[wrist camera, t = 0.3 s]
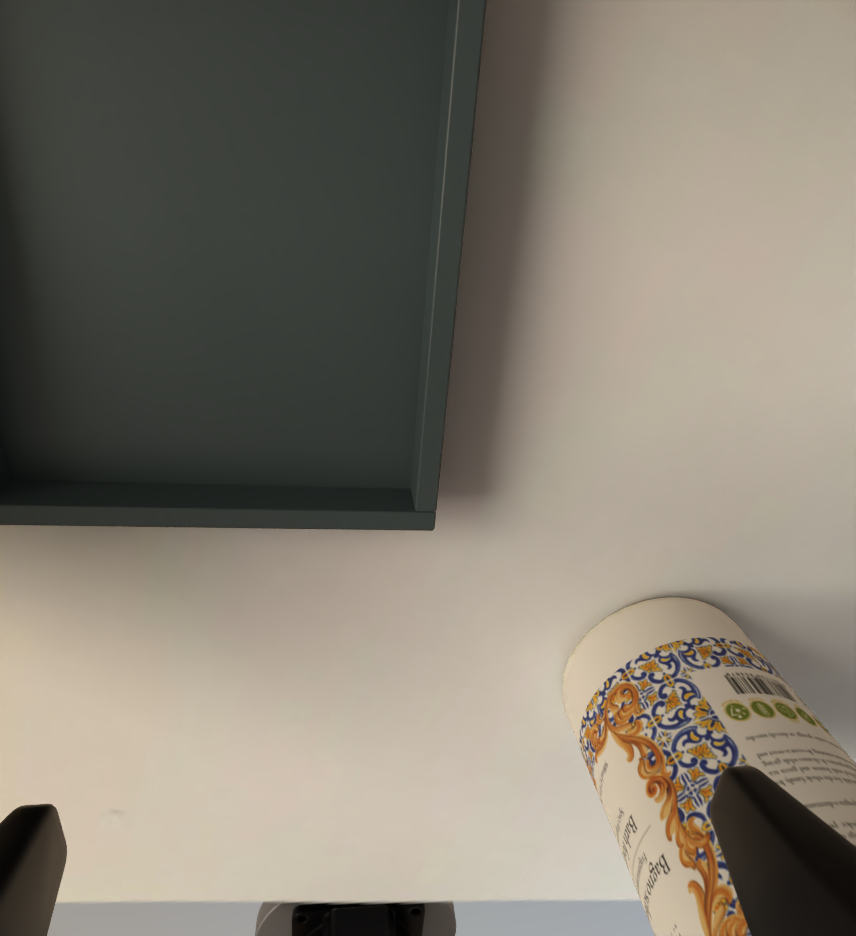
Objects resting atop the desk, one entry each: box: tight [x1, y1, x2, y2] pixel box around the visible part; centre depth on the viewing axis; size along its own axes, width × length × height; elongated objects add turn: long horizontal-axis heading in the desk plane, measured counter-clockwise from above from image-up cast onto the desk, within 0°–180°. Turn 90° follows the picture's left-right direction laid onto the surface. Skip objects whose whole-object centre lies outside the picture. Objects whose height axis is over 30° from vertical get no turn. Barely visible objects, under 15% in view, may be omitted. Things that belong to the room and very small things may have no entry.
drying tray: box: [0, 0, 486, 531], centre depth 16 cm, size 14×12×2 cm
